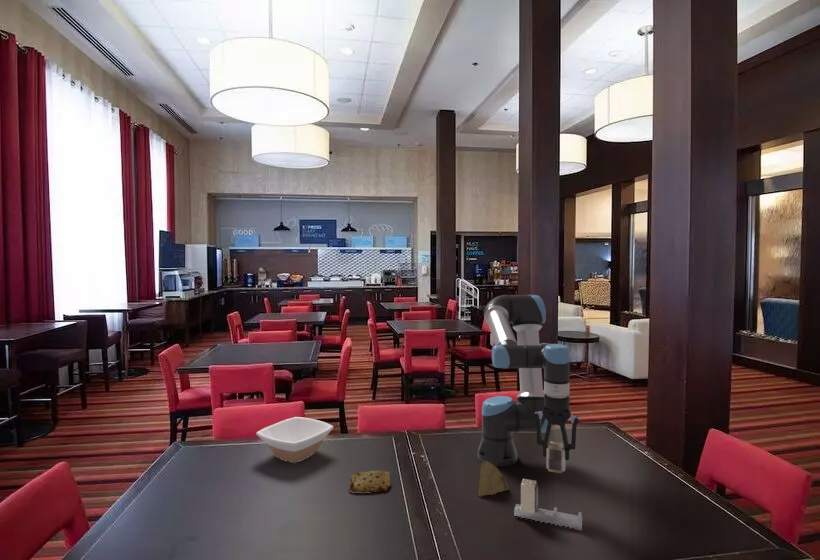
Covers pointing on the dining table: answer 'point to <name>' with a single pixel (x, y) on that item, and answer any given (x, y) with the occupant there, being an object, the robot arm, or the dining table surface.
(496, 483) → the rock
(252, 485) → the dining table surface
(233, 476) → the dining table surface
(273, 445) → the bowl
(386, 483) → the pastry
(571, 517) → the grey l-shaped piece
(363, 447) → the dining table surface
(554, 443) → the block
